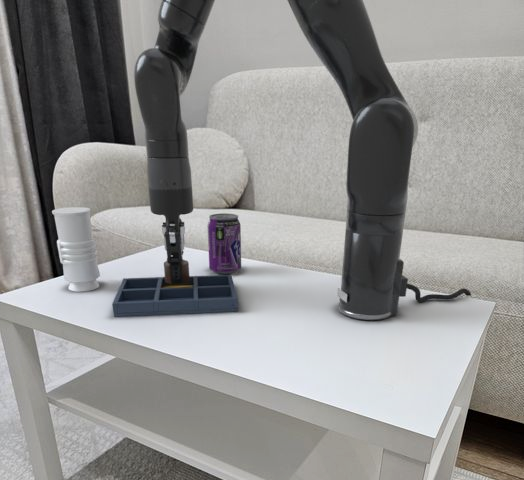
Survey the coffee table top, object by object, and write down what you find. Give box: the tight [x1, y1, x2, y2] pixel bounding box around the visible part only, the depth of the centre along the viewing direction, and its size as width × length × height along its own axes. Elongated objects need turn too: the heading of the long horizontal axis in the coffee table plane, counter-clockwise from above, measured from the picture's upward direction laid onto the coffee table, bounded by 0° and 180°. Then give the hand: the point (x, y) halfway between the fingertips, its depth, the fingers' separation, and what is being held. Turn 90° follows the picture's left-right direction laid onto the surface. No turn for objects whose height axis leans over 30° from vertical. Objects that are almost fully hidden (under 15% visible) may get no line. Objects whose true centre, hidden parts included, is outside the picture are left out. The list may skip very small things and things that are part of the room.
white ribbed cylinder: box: [51, 206, 101, 293], centre depth 92 cm, size 7×7×15 cm
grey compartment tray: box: [111, 274, 239, 318], centre depth 88 cm, size 21×14×2 cm
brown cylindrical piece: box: [163, 259, 190, 284], centre depth 90 cm, size 5×5×4 cm
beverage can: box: [207, 212, 242, 275], centre depth 103 cm, size 7×7×12 cm
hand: (177, 278), depth 90 cm, fingers closed on brown cylindrical piece, 4 cm apart
